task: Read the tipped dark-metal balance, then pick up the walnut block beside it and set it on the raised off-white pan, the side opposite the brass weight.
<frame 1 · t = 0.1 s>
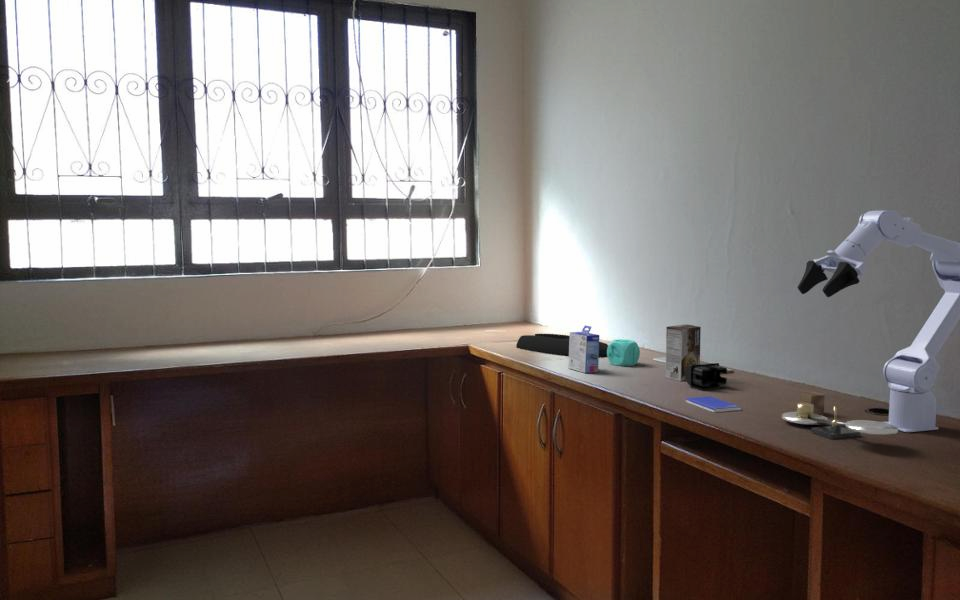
hand: (812, 292, 165), 32 cm above the worktop, tool tilted 50°, fingers open, 7 cm apart
balance: (835, 434, 170), on the worktop
coffee box: (682, 378, 235), on the worktop
hard drive: (712, 408, 198), on the worktop
ink cartridge box: (583, 371, 247), on the worktop
black electrical connector: (705, 388, 221), on the worktop
walnut block: (811, 413, 190), on the worktop
decorative dice: (623, 364, 259), on the worktop
docking station: (566, 351, 289), on the worktop
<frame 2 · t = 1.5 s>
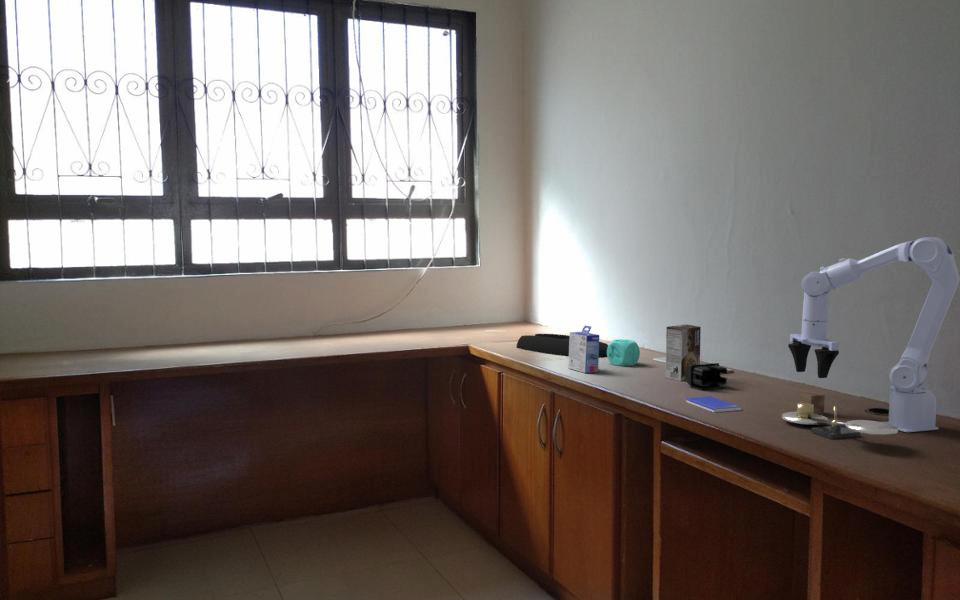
hand: (811, 374, 189), 10 cm above the worktop, tool pointing down, fingers open, 7 cm apart
nothing on the worktop moved.
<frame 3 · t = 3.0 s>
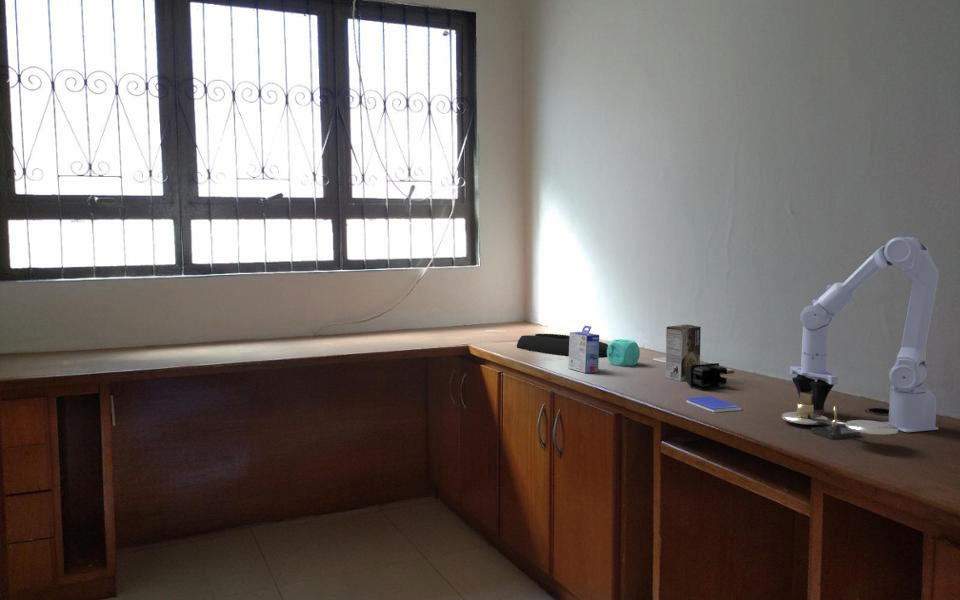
hand: (811, 407, 190), 1 cm above the worktop, tool pointing down, fingers closed on walnut block, 4 cm apart
walnut block: (811, 413, 190), on the worktop, touching gripper
everything else where it was.
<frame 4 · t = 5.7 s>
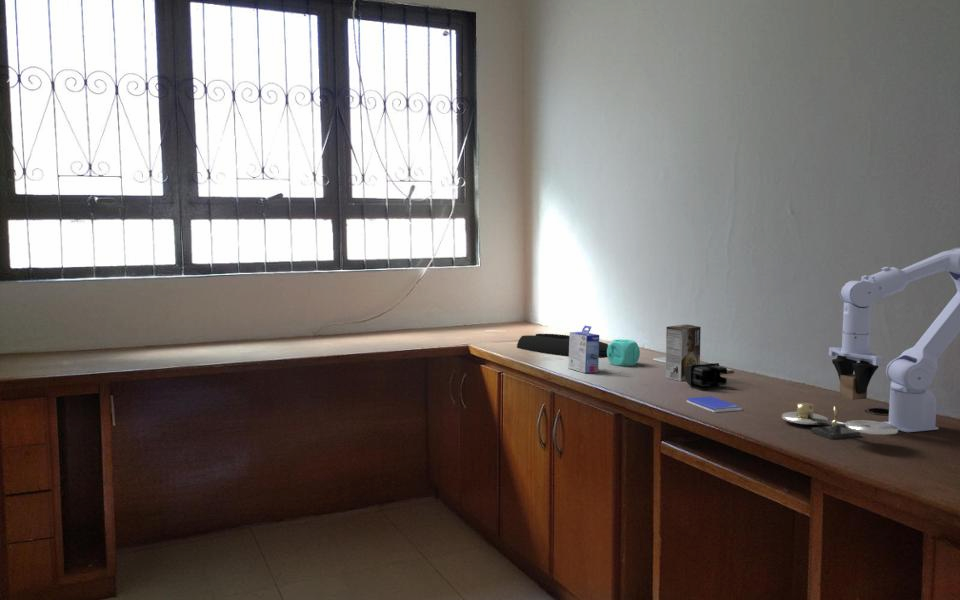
hand: (853, 391, 176), 8 cm above the worktop, tool pointing down, fingers closed on walnut block, 4 cm apart
walnut block: (852, 397, 176), point 7 cm above the worktop, touching gripper
everything else where it was.
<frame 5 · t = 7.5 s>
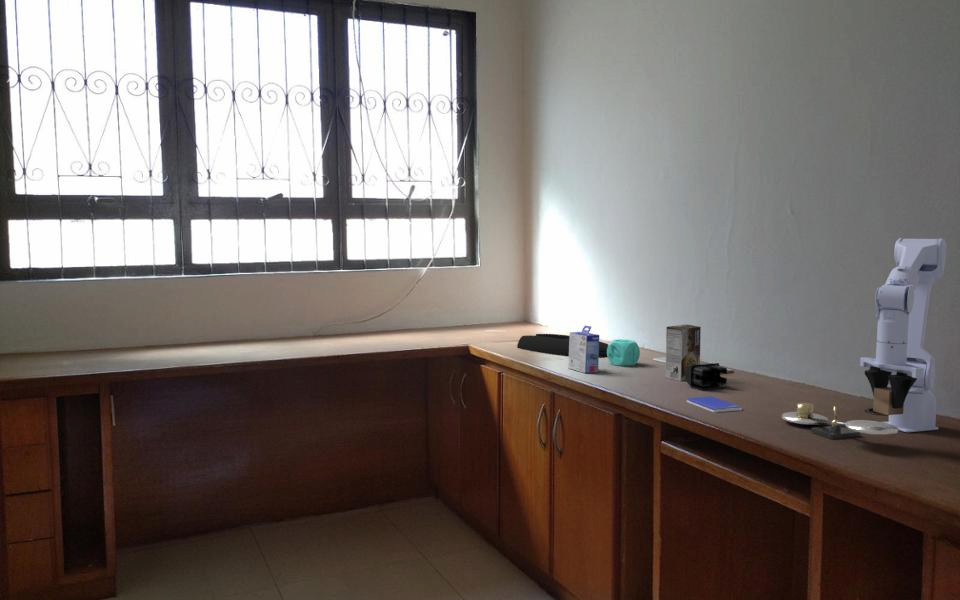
hand: (888, 405, 161), 8 cm above the worktop, tool pointing down, fingers closed on walnut block, 4 cm apart
walnut block: (887, 412, 161), point 7 cm above the worktop, touching gripper
everything else where it was.
when the fingers open (7 cm above the worktop, at t = 8.6 s): walnut block stays where it is, resting on balance.
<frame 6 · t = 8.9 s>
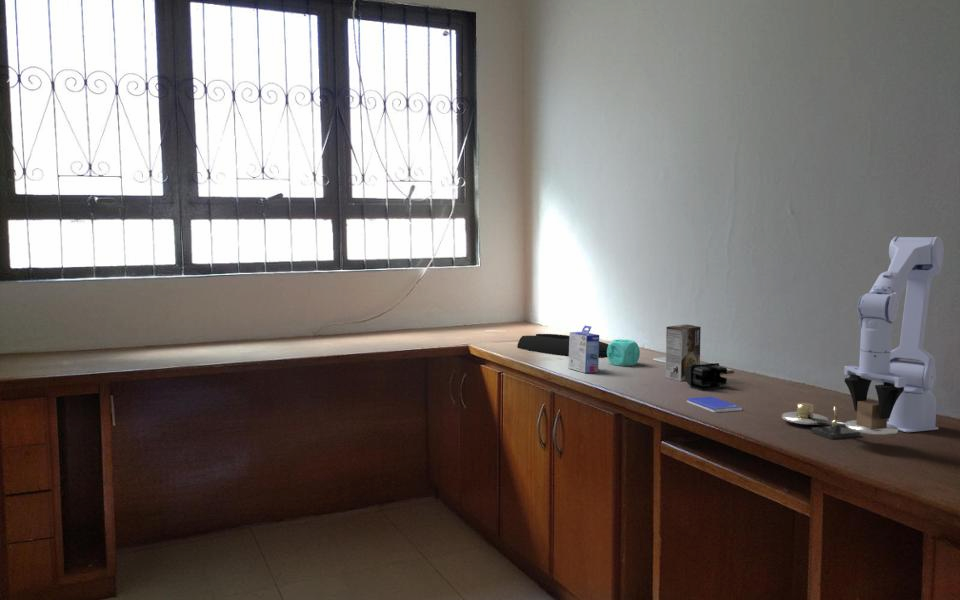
hand: (871, 414, 160), 7 cm above the worktop, tool pointing down, fingers open, 6 cm apart
walnut block: (871, 425, 161), point 4 cm above the worktop, touching balance
everything else where it was.
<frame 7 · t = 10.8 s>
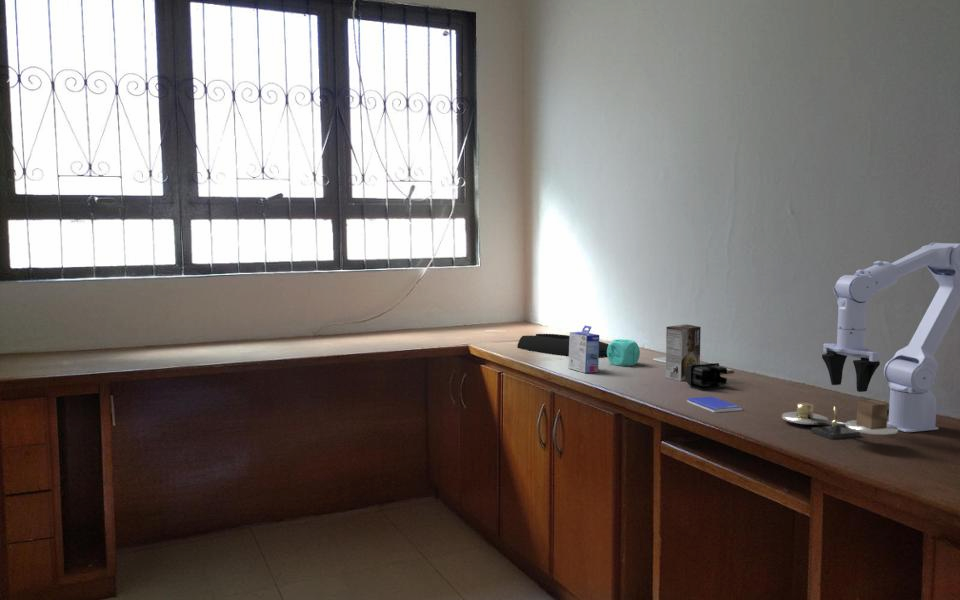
hand: (848, 388, 173), 10 cm above the worktop, tool pointing down, fingers open, 7 cm apart
nothing on the worktop moved.
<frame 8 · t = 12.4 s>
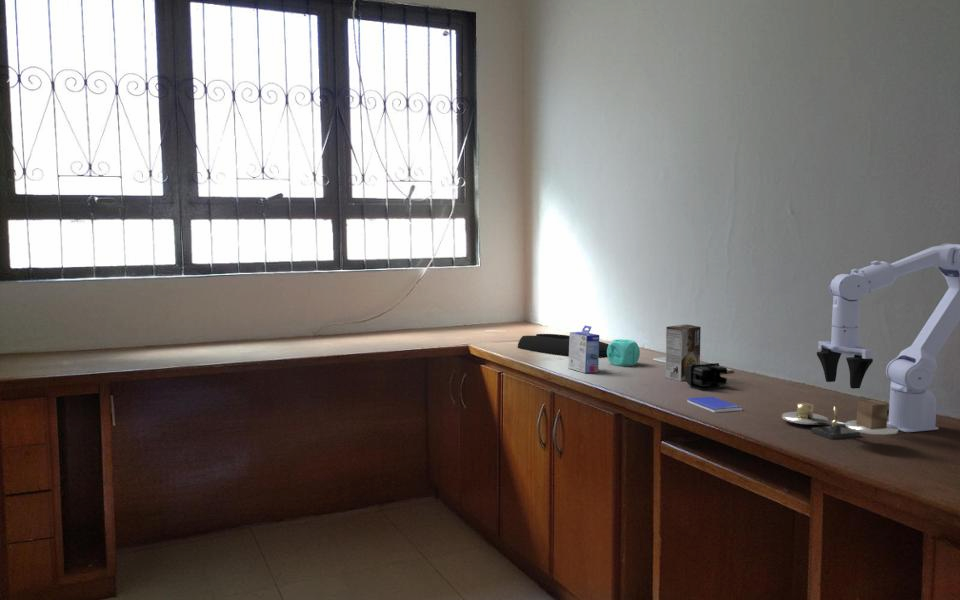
hand: (842, 384, 176), 10 cm above the worktop, tool pointing down, fingers open, 7 cm apart
nothing on the worktop moved.
at the end: walnut block inside the target area on the balance (0.1 cm from its centre), point 4.4 cm above the balance's base; walnut block tilted 0°; the gripper is holding nothing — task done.
